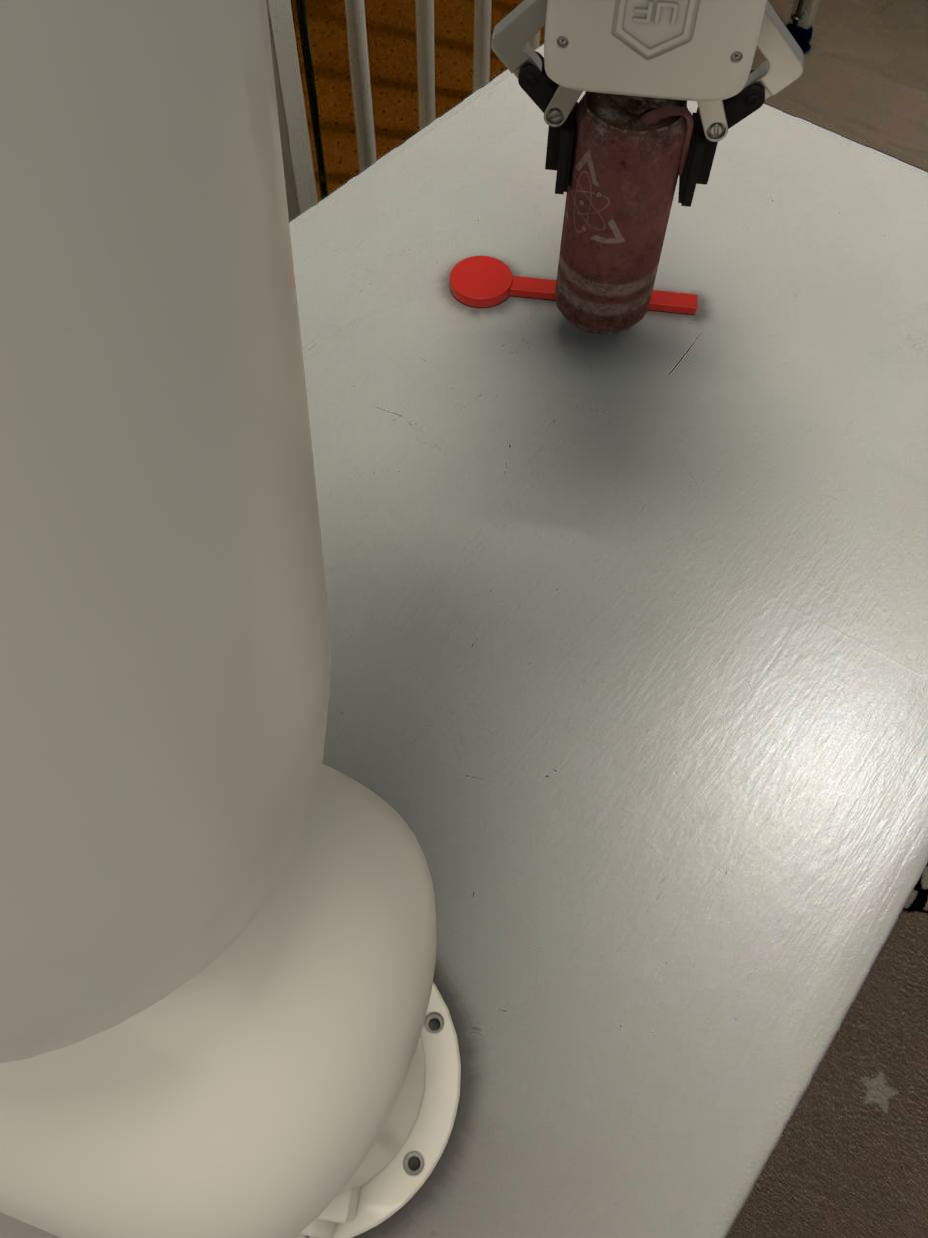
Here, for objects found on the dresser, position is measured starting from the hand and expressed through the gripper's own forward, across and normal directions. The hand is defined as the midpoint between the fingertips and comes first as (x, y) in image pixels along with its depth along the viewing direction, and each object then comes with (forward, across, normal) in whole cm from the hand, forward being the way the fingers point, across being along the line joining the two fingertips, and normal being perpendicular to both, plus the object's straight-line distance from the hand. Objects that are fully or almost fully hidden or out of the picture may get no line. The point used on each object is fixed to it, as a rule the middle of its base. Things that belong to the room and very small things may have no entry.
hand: (624, 182), depth 55 cm
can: (+9, 0, 0) cm, 9 cm away
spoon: (+12, -3, +4) cm, 13 cm away
